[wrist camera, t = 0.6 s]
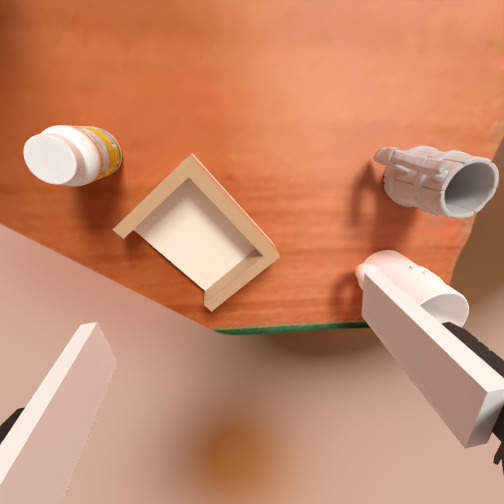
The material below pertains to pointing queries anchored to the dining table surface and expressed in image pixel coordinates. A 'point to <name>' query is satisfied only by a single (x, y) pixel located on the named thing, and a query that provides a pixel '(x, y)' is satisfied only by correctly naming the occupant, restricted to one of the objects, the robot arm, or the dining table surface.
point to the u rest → (201, 232)
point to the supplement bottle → (72, 155)
